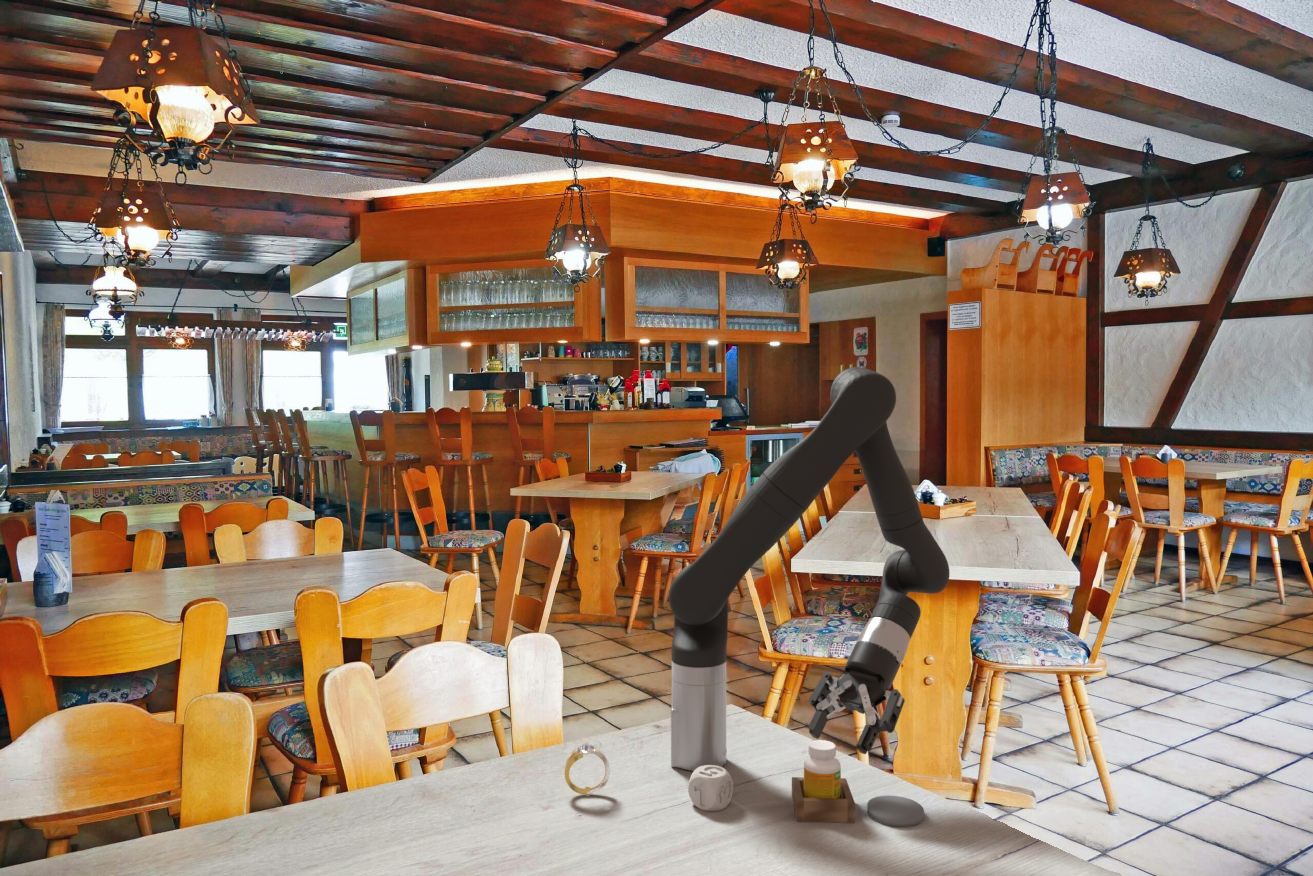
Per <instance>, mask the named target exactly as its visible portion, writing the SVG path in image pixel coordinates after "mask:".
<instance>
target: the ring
mask: <svg viewBox="0 0 1313 876" xmlns="http://www.w3.org/2000/svg"><path fill="white" fill-rule="evenodd" d="M587 755H595V756H597V757H598V758H599V759H600V760H601V761H602V763H603V764H604V768H605V772H604V776H603V777H602V778H603V779H602V780H601V781H600V782H599V783H598V784H597V785H595V786H593V787H590V786H585V787H584V788H583V787H580V786H578V785H576V784H575V783H574V782H573V781H572V779H571V776H570V770H571V768H572V766H573V765H574V764H575V763H576V762H577V761H578V760H580V759H582V758H583V757H584V756H587ZM566 759H567V760H566V762H565V766H564V779H565V782H566V784H567V786H568V787H569V788H570V789H571V790H572V791H573V792H575V793H577V794H580V795H584V796H585V797H589V796H590V795H593V794H596V793H599V792H600V791H601V790H603V788H604V787H605V786H606V785H607V783H608V781H609V779H610V775H611V774H610V773H611V766H610V760H609V759H608V757H607V755H606V754H605V753H604V752H602V750H600V749H598V748H597V744H596V743H594V744H590V742H589V741H586V742H582V743H581V745H578V746H577V745H576V746H575V747H574V749H573V751H571V752H570V754H569V756H568V757H567V758H566Z"/></svg>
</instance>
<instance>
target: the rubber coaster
mask: <svg viewBox="0 0 1313 876" xmlns="http://www.w3.org/2000/svg"><path fill="white" fill-rule="evenodd" d="M866 805H867V807H866V808H867V809H866V811H867V812H866V813H867V815H868V816H869V818H871V819H872V820H873V821H876V822H877V823H880V824H882V825H886V826H890V827H898V828H908V827H914V826H917V825H919V824H921V823H922V822H923V821H924V819H925V817H924V816H925V810H924V807H923V806H922V805H921V804H920V803H919V802H917V801H915V800H913V799H911V798H909V797H904V796H899V795H889V794H888V795H880V796H879V795H878V796H875V797H873V798H870V799H869V800H868V802H867V803H866Z"/></svg>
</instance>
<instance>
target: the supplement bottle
mask: <svg viewBox="0 0 1313 876" xmlns="http://www.w3.org/2000/svg"><path fill="white" fill-rule="evenodd" d="M836 746H837V745H836V744H835V743H833V742H832V741H829V740H824V739H817V740H811V741H809V743H808V751H807V752H808V754H809V755H808V756H806V757H805V758H804V762H803V777H804V798H829V799H841V778H842V776H841V773H842V772H841V770H842V769H841V762H840V760H839V759H838V758H837V757H836V756H837V755H836V754H837V749H836V748H837V747H836Z"/></svg>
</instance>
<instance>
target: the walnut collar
mask: <svg viewBox="0 0 1313 876" xmlns="http://www.w3.org/2000/svg"><path fill="white" fill-rule="evenodd" d="M851 791H852V790H851V789H850V786H849V783H848V781H847V778H844V777H843V778H842V777H841V799H829V798H804V776H802V777H798V776H796V777H794V776H793V777H791V799H792V805H793V809H794V814H795V818H796V822H810V823H811V822H813V823H814V822H815V823H817V822H818V823H849V824H850V823H851V824H853V823H855V821H856V820H855V812H856V811H855V808H856V807H855V800H854V796H853V794H852V792H851Z"/></svg>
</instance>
